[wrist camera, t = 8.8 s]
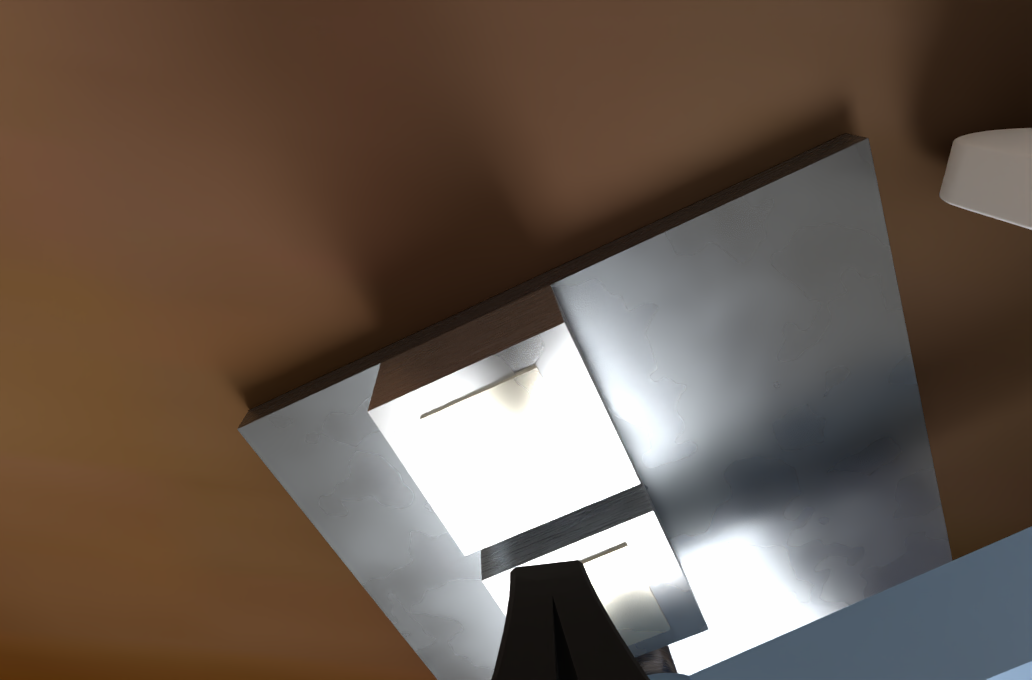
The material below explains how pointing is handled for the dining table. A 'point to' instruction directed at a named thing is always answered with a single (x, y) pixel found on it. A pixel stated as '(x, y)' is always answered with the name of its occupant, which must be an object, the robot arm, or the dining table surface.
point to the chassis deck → (680, 421)
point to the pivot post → (657, 661)
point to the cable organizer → (992, 175)
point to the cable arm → (912, 629)
